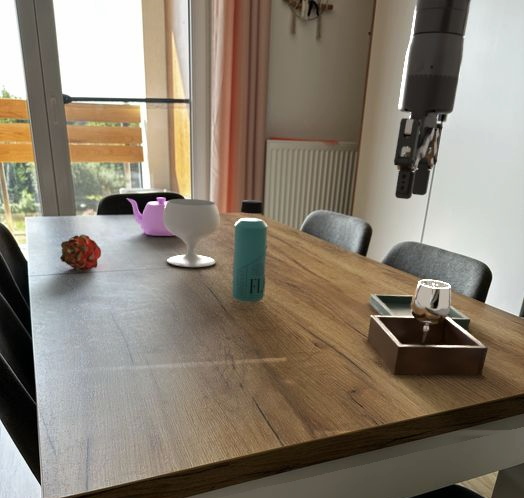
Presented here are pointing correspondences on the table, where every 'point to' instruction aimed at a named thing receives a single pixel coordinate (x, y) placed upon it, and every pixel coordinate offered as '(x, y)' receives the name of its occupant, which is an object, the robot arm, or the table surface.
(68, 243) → the dragon fruit
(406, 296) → the tray
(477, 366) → the brown wooden box
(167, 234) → the teapot
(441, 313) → the wineglass
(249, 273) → the beverage bottle
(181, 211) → the chalice
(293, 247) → the table surface
